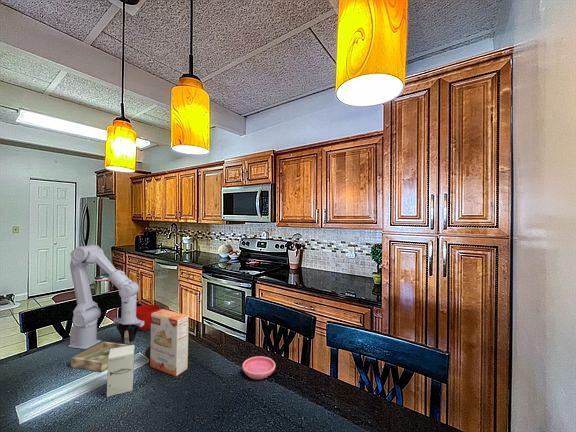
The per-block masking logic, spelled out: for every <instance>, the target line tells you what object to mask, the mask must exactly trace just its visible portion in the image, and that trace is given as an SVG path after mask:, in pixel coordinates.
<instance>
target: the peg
mask: <svg viewBox="0 0 576 432" xmlns="http://www.w3.org/2000/svg"><path fill="white" fill-rule="evenodd" d="M123 344H125V345H133V341H132V342H129V333H128V330H127V329H125V330H124V341H123Z"/></svg>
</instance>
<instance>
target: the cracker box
mask: <svg viewBox="0 0 576 432" xmlns="http://www.w3.org/2000/svg"><path fill="white" fill-rule="evenodd" d="M189 323H190V322H189V315H188V314H184V313H179V312H176V311H173V310H172V311H171V310H168V309H164V308H163V309H160V311H156V312H154V313H151V329H150V345H151V349H150V359H149V361H150V362H149V367H150V368H153V369H155V370H159V371H161V372H163V373H165V374H168V375H171V376H173V377H178V376H179V375H181V374H182V373H184V372H185V371H187V370H188V369H189V368H188V367H189V366H188V365H189V358H188V357H189Z"/></svg>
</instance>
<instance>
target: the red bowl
mask: <svg viewBox="0 0 576 432" xmlns="http://www.w3.org/2000/svg"><path fill="white" fill-rule="evenodd" d="M160 310H161V307H160V305H158V304H145V305H138V306H136V317H137V319H139V320H142V321H144V326H142V327H139V329H138V331H141V330H143V331H144V332H145V331H149V330H151V313H154V312H156V311H160Z"/></svg>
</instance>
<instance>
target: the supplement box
mask: <svg viewBox="0 0 576 432" xmlns="http://www.w3.org/2000/svg"><path fill="white" fill-rule="evenodd" d="M134 368H135V344H132V345H129V346H124V347H118V348H112V349H110V352H109V357H108V369H107V372H106V373H107V379H106V380H107V381H106V398H108V397H113V396H115V395H121V394H124V393H129V392H132V391H133V386H134V385H133V384H134Z"/></svg>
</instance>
